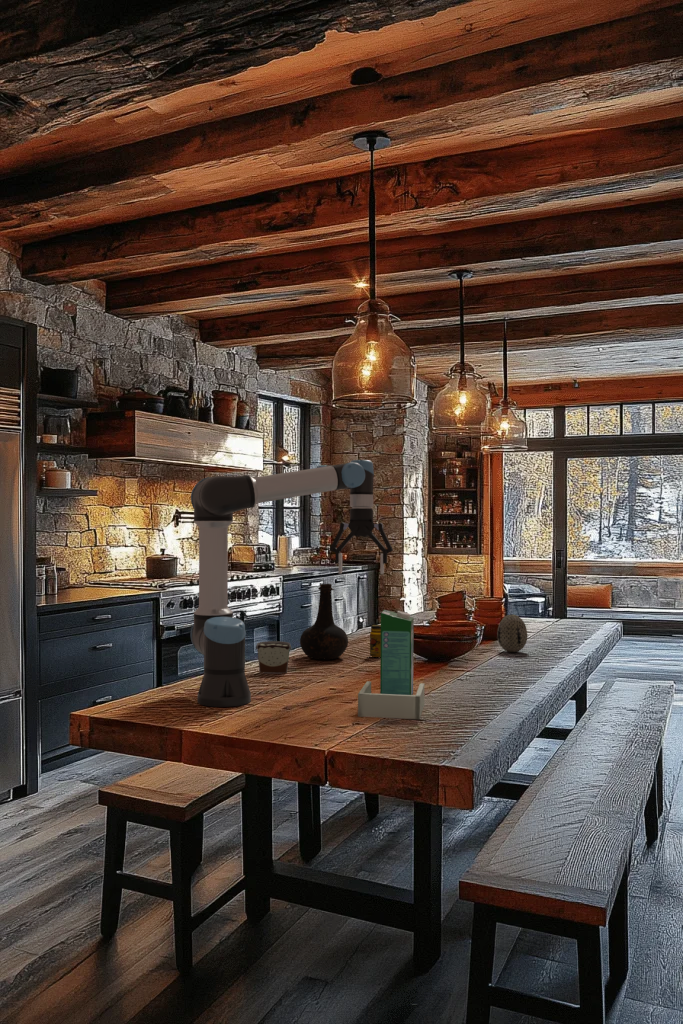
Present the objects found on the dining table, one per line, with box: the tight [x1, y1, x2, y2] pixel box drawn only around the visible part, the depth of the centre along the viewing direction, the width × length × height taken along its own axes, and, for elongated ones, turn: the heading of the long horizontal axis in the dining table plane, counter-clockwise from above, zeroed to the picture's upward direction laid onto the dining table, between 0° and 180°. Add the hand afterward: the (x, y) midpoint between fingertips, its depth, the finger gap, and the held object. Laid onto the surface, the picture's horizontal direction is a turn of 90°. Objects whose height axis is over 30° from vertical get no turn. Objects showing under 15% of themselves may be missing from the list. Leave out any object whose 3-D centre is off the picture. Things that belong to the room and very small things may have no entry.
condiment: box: [369, 624, 381, 657], centre depth 315 cm, size 7×8×12 cm
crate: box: [357, 680, 425, 720], centre depth 227 cm, size 17×16×6 cm
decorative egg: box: [496, 613, 528, 653], centre depth 327 cm, size 12×12×15 cm
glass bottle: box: [299, 583, 349, 661], centre depth 311 cm, size 18×18×28 cm
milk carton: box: [379, 609, 415, 695], centre depth 247 cm, size 9×9×25 cm
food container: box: [255, 640, 292, 674], centre depth 283 cm, size 12×6×10 cm, turn 84°
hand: (361, 573), depth 268 cm, fingers open, 13 cm apart
